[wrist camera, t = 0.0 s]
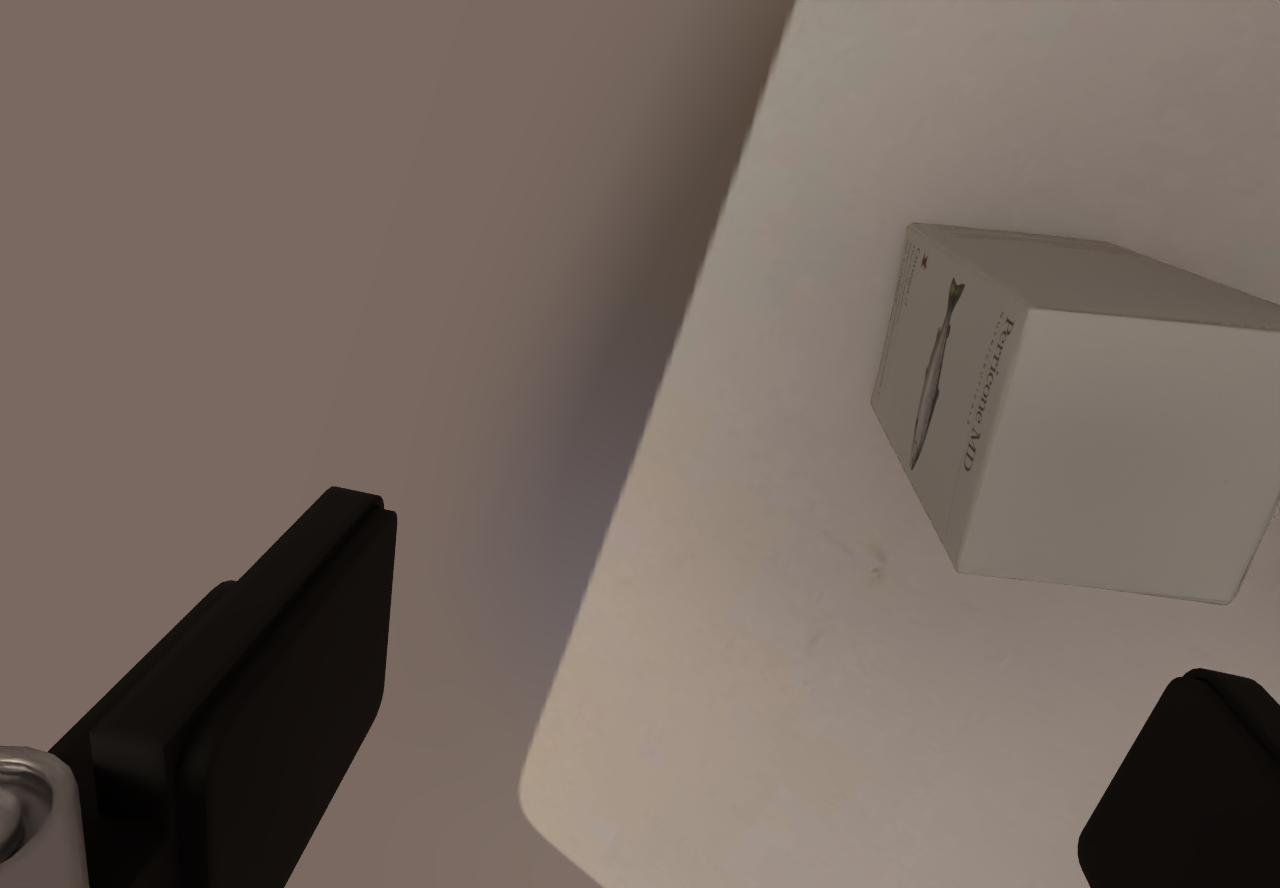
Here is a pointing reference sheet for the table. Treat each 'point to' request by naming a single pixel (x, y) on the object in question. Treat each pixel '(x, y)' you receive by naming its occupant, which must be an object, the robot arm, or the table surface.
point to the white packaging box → (1082, 412)
